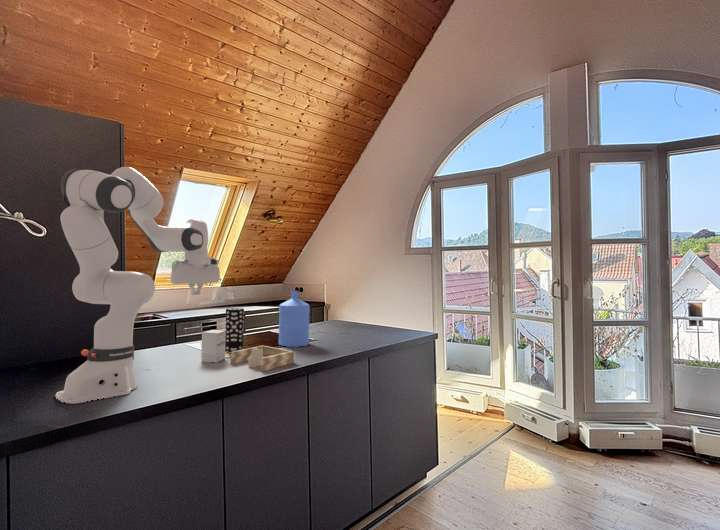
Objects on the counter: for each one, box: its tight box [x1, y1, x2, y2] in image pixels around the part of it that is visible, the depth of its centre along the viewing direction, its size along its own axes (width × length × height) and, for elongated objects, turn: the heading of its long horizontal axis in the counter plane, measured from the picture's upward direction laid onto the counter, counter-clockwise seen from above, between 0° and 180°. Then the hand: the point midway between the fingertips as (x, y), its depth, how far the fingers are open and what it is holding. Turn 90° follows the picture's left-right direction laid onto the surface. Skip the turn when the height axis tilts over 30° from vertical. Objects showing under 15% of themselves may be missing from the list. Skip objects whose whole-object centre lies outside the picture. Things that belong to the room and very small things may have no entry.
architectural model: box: [247, 348, 264, 368], centre depth 174 cm, size 3×7×7 cm, turn 139°
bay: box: [230, 345, 295, 372], centre depth 177 cm, size 18×19×5 cm
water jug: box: [277, 290, 311, 348], centre depth 218 cm, size 16×16×28 cm
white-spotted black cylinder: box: [225, 307, 245, 353], centre depth 201 cm, size 8×8×20 cm
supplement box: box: [200, 329, 226, 364], centre depth 181 cm, size 7×7×13 cm
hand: (195, 294), depth 170 cm, fingers closed
